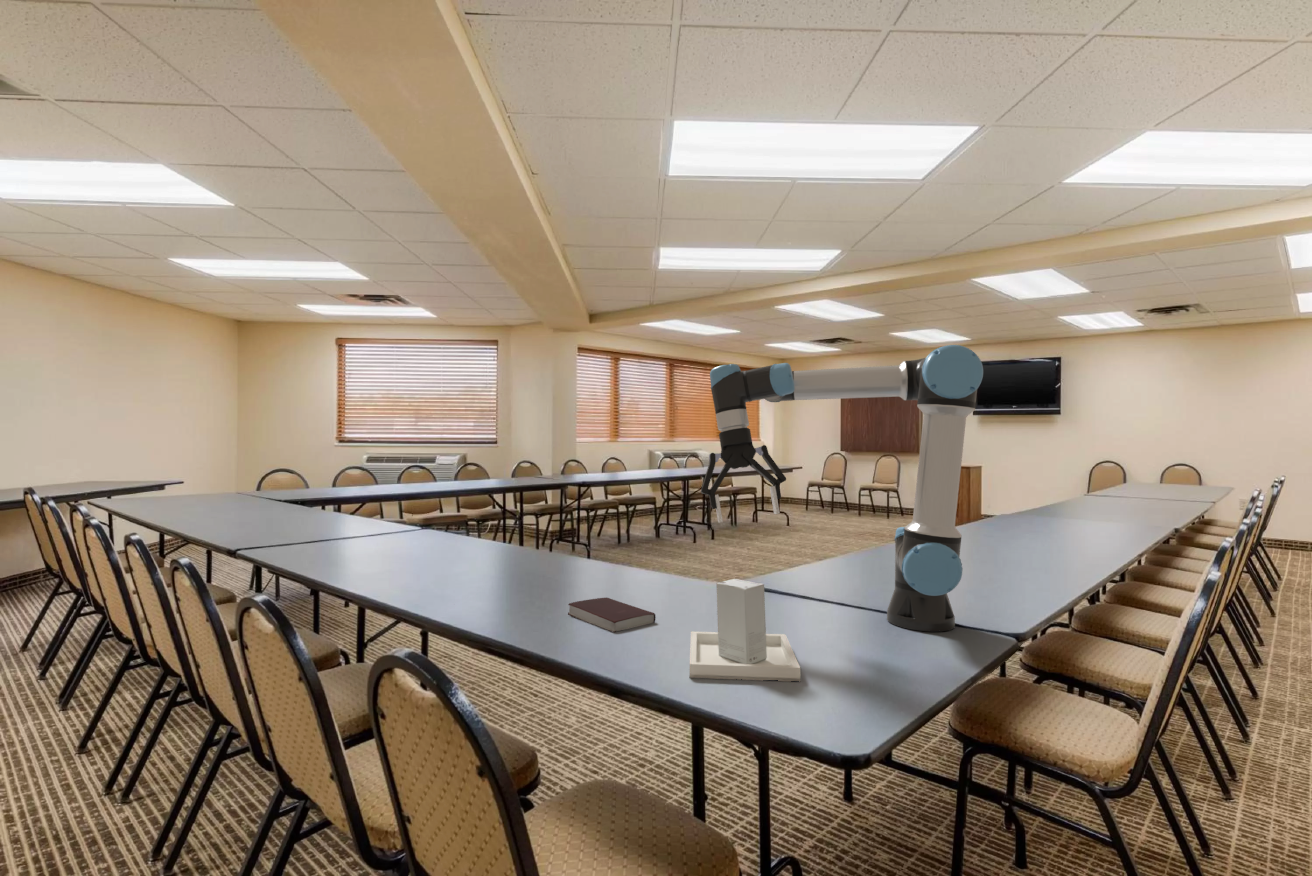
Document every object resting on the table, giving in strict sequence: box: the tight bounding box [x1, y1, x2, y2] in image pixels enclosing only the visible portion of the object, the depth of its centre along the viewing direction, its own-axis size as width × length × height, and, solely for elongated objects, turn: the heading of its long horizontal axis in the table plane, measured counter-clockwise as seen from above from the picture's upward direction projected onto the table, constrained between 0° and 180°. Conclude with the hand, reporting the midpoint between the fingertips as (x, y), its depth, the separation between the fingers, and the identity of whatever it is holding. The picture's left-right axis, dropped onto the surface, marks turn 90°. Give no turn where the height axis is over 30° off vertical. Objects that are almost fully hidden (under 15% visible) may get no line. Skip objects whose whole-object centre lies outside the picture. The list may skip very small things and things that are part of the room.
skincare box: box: [716, 578, 767, 664], centre depth 125 cm, size 8×6×15 cm
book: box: [567, 597, 656, 633], centre depth 154 cm, size 12×19×3 cm, turn 41°
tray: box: [688, 631, 801, 683], centre depth 125 cm, size 20×20×2 cm
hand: (748, 518), depth 149 cm, fingers open, 13 cm apart
